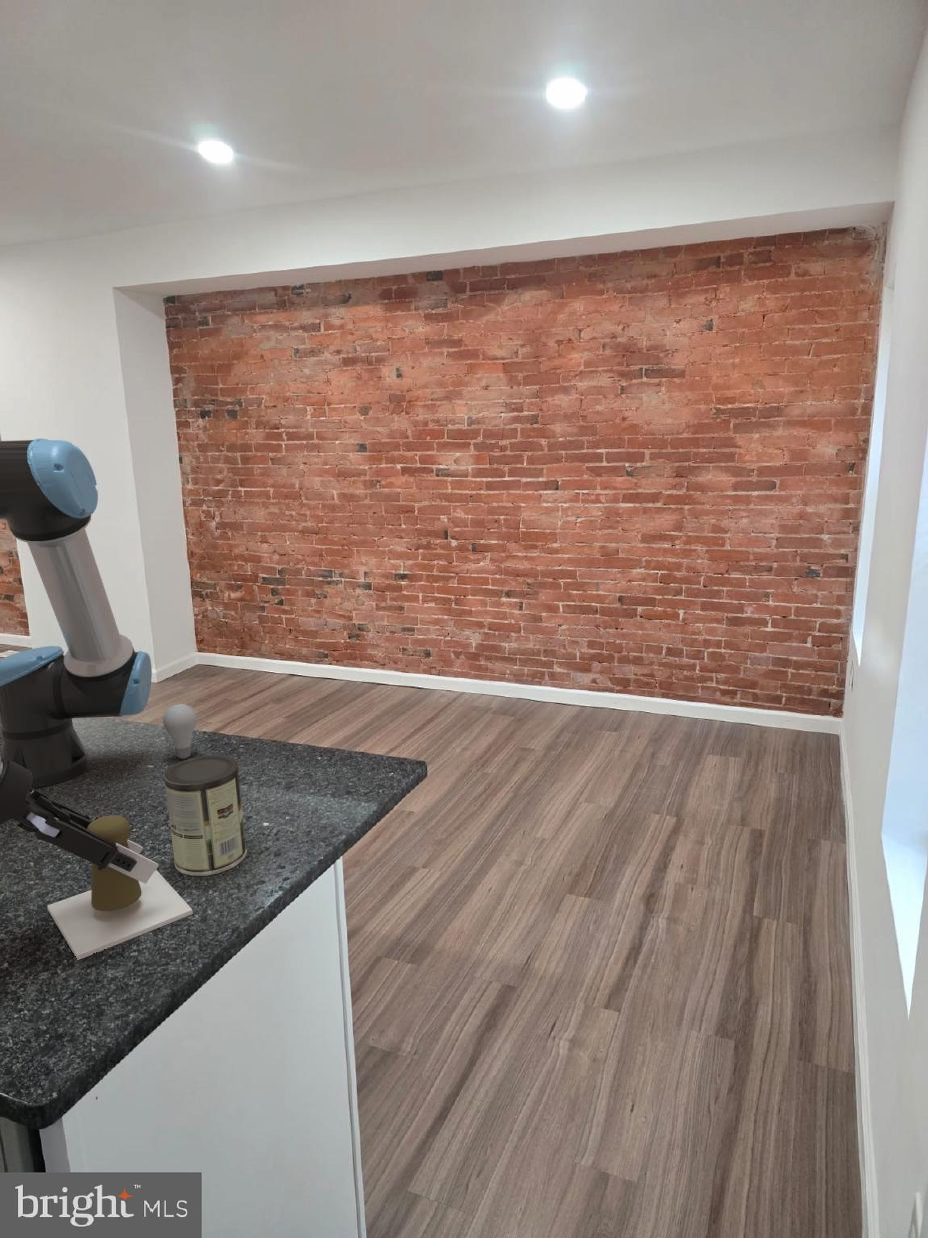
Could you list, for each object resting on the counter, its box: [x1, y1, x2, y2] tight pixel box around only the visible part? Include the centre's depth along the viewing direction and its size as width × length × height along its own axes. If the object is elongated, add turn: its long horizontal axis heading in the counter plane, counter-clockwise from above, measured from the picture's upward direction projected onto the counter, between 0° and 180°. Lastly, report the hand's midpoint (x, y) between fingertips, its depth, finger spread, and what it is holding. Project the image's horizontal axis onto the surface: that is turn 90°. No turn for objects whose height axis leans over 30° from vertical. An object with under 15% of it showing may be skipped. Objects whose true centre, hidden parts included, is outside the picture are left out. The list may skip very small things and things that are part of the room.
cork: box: [87, 814, 142, 911], centre depth 102 cm, size 6×6×11 cm
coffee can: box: [162, 754, 248, 877], centre depth 115 cm, size 10×10×14 cm
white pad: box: [47, 869, 194, 961], centre depth 104 cm, size 14×14×1 cm
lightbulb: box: [162, 703, 198, 760], centre depth 153 cm, size 6×6×11 cm
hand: (143, 864), depth 105 cm, fingers closed on cork, 5 cm apart
